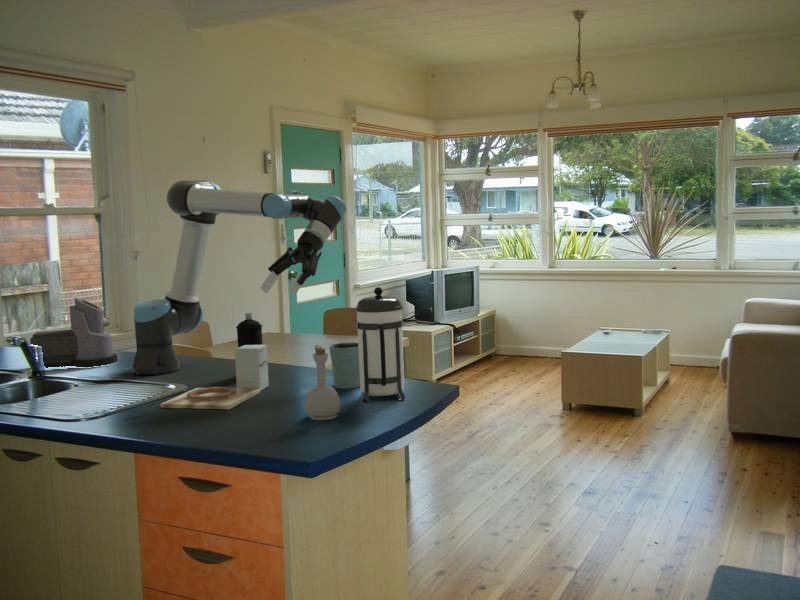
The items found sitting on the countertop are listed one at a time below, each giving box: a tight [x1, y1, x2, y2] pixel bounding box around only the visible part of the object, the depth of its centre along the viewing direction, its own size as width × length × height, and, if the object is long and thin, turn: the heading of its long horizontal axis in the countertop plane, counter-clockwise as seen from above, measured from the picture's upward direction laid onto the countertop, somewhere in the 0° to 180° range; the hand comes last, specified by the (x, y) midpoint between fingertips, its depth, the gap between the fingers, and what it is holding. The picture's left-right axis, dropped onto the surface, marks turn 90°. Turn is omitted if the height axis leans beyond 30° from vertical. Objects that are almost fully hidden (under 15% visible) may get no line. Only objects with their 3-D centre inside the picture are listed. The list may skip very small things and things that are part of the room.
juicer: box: [29, 297, 119, 368], centre depth 284 cm, size 30×16×24 cm, turn 105°
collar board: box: [160, 386, 261, 410], centre depth 222 cm, size 20×20×2 cm
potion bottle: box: [304, 344, 342, 421], centre depth 198 cm, size 9×9×18 cm
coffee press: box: [354, 286, 406, 403], centre depth 215 cm, size 17×16×30 cm
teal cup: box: [329, 342, 360, 390], centre depth 234 cm, size 10×10×12 cm
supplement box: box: [234, 344, 270, 392], centre depth 234 cm, size 7×7×13 cm
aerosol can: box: [235, 312, 264, 348], centre depth 254 cm, size 8×8×20 cm
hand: (277, 291), depth 239 cm, fingers open, 13 cm apart
